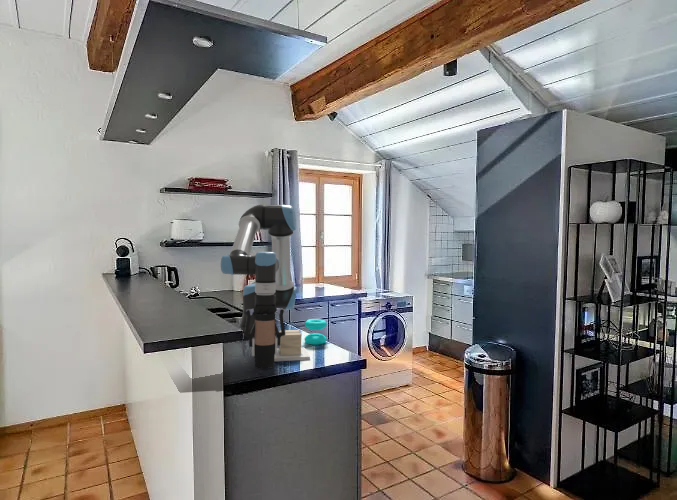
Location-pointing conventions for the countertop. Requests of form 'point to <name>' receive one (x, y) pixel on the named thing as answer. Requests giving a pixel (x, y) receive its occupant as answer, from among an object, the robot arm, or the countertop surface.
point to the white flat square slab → (292, 356)
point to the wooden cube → (290, 343)
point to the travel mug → (264, 340)
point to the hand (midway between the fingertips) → (264, 354)
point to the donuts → (315, 337)
